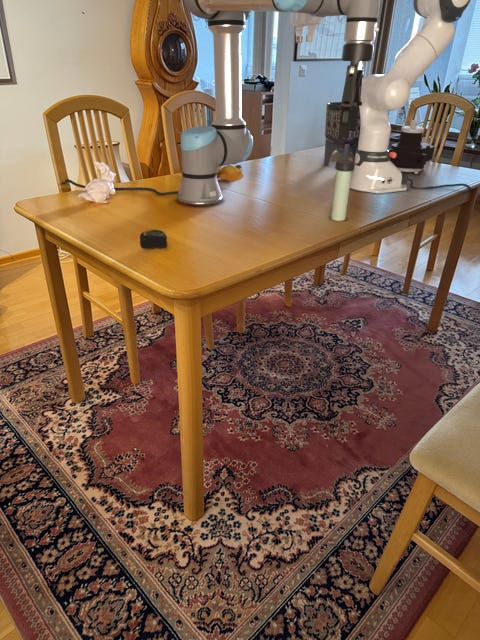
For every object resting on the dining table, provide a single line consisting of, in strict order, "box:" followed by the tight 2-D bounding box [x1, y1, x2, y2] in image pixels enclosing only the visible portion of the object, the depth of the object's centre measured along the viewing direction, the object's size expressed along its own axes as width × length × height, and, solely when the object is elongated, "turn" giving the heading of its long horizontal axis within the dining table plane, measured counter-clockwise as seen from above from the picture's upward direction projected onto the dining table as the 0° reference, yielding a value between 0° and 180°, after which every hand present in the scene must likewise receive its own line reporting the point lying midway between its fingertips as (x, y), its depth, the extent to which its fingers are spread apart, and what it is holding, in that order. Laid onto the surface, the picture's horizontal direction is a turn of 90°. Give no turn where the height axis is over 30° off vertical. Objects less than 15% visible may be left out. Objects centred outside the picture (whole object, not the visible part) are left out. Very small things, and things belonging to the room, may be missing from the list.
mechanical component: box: [388, 119, 436, 175], centre depth 204 cm, size 22×21×30 cm
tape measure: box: [139, 229, 168, 250], centre depth 117 cm, size 7×7×4 cm
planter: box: [323, 101, 360, 166], centre depth 204 cm, size 20×20×26 cm
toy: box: [217, 164, 244, 183], centre depth 183 cm, size 11×6×15 cm
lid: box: [334, 159, 355, 172], centre depth 135 cm, size 6×6×2 cm
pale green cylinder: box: [330, 170, 353, 222], centre depth 138 cm, size 4×4×17 cm
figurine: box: [77, 160, 117, 204], centre depth 150 cm, size 8×15×13 cm, turn 145°
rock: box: [335, 147, 352, 154], centre depth 243 cm, size 13×9×6 cm, turn 131°
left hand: (347, 134), depth 123 cm, fingers open, 13 cm apart
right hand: (304, 42), depth 147 cm, fingers open, 8 cm apart
